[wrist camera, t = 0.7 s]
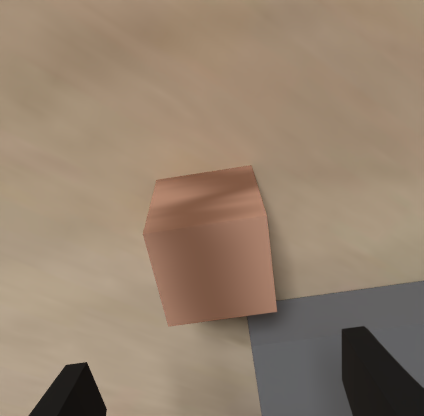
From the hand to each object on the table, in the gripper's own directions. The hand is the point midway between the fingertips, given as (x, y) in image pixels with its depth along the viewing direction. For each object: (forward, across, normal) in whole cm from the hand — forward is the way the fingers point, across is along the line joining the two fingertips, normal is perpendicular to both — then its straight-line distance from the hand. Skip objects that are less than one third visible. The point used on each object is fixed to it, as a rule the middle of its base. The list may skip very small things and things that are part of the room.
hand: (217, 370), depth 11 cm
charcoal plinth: (+9, -7, +12) cm, 17 cm away
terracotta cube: (+10, 0, 0) cm, 10 cm away
